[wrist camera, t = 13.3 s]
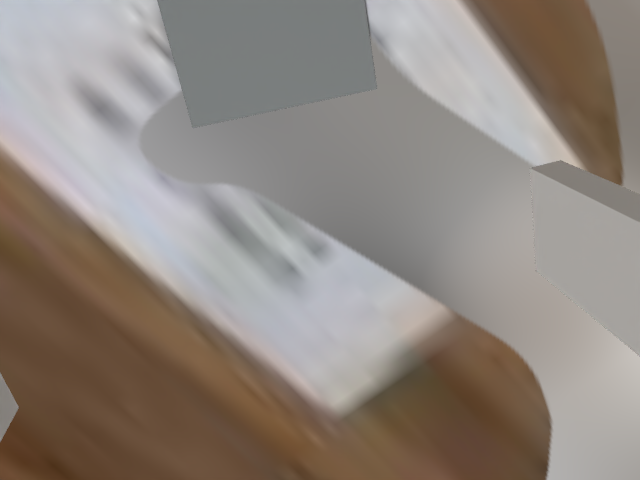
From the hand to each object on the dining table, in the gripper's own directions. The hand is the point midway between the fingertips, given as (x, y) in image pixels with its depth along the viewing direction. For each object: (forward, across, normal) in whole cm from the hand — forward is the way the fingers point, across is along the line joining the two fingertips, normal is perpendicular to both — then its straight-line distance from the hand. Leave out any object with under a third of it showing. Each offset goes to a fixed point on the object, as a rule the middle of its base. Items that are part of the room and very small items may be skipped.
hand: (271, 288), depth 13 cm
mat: (+25, +3, +6) cm, 26 cm away
